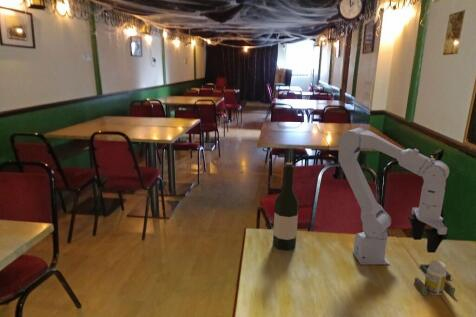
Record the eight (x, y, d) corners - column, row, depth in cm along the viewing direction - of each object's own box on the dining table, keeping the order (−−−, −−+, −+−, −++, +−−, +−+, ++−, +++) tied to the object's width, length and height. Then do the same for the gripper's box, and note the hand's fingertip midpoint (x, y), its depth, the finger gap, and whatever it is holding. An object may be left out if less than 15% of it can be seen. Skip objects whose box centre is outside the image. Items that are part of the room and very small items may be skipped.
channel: (423, 295, 95) (424, 288, 94) (413, 284, 100) (415, 277, 99) (453, 295, 95) (455, 288, 94) (442, 284, 100) (444, 277, 99)
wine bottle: (270, 239, 125) (274, 160, 117) (292, 238, 126) (297, 160, 118) (275, 251, 117) (279, 167, 109) (299, 250, 118) (305, 166, 110)
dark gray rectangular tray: (430, 278, 103) (431, 275, 102) (419, 267, 109) (420, 264, 108) (450, 278, 103) (450, 275, 103) (438, 267, 109) (438, 264, 108)
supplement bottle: (438, 286, 99) (443, 260, 97) (446, 296, 95) (451, 269, 93) (421, 284, 100) (425, 259, 98) (428, 294, 95) (432, 268, 93)
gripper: (461, 213, 92) (452, 258, 95) (430, 194, 106) (423, 234, 110) (435, 213, 92) (427, 258, 95) (407, 194, 106) (401, 234, 109)
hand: (423, 245), depth 102 cm, fingers open, 7 cm apart
